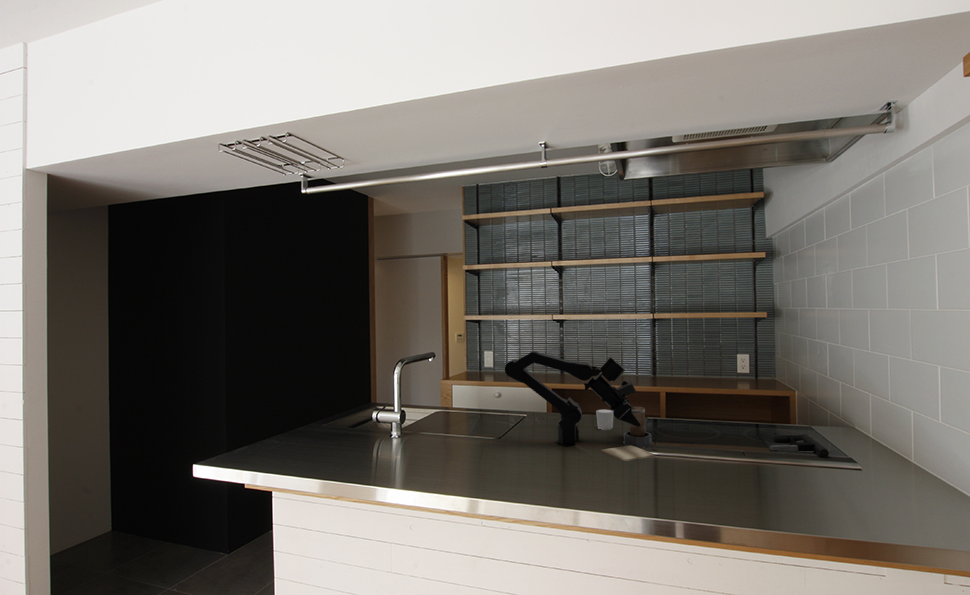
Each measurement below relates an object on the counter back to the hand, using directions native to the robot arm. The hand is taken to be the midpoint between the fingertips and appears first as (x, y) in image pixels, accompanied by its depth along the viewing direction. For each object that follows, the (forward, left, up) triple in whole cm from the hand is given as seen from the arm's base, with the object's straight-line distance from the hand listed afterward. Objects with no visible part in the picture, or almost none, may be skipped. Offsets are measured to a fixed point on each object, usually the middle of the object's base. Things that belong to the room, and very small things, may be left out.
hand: (638, 422), depth 181 cm
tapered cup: (0, 0, -7) cm, 7 cm away
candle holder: (0, 0, -8) cm, 8 cm away
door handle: (+44, -25, -8) cm, 51 cm away
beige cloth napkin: (-11, -9, -8) cm, 16 cm away
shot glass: (+4, +25, -8) cm, 27 cm away
